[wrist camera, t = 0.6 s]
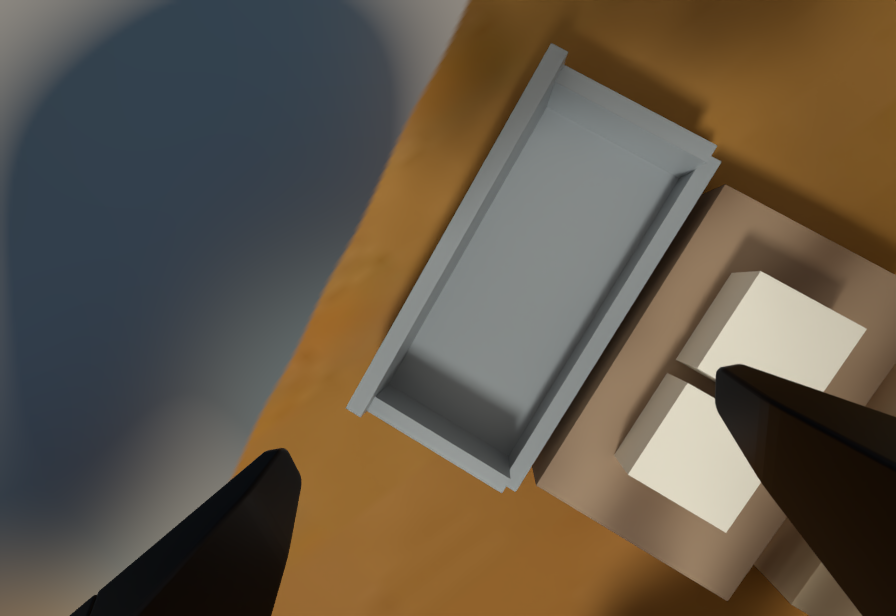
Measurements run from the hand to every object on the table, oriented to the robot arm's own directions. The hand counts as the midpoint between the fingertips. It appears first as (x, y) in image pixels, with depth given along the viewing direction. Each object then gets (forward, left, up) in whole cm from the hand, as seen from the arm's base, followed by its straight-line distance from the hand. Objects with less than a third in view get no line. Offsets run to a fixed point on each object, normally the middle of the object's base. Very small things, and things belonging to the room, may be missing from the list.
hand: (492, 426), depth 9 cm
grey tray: (0, -3, -14) cm, 14 cm away
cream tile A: (-10, -6, -11) cm, 16 cm away
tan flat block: (-10, -3, -14) cm, 17 cm away
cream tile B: (-10, -1, -11) cm, 15 cm away
